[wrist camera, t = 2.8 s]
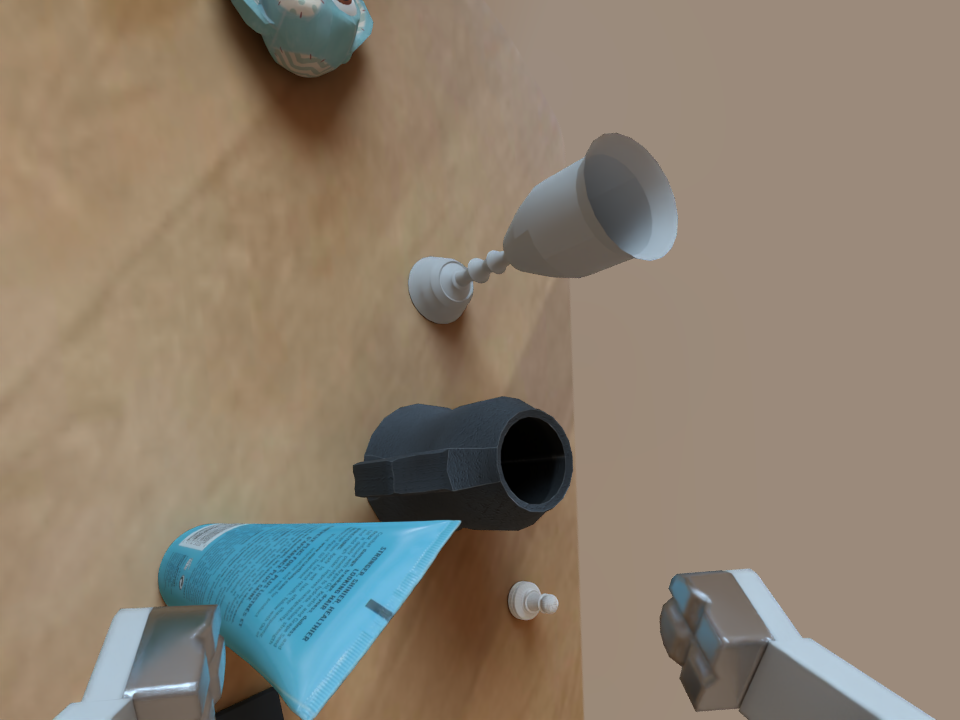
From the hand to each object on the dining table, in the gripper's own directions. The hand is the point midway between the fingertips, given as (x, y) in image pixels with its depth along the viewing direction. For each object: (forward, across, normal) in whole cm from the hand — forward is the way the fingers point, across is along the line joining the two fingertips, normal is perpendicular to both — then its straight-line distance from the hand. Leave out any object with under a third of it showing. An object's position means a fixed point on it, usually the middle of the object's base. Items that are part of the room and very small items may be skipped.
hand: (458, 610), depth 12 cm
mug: (+27, -2, +18) cm, 32 cm away
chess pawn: (+24, -10, +28) cm, 38 cm away
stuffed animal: (+44, +6, -8) cm, 45 cm away
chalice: (+36, -4, +9) cm, 38 cm away
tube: (+19, +9, +18) cm, 28 cm away
